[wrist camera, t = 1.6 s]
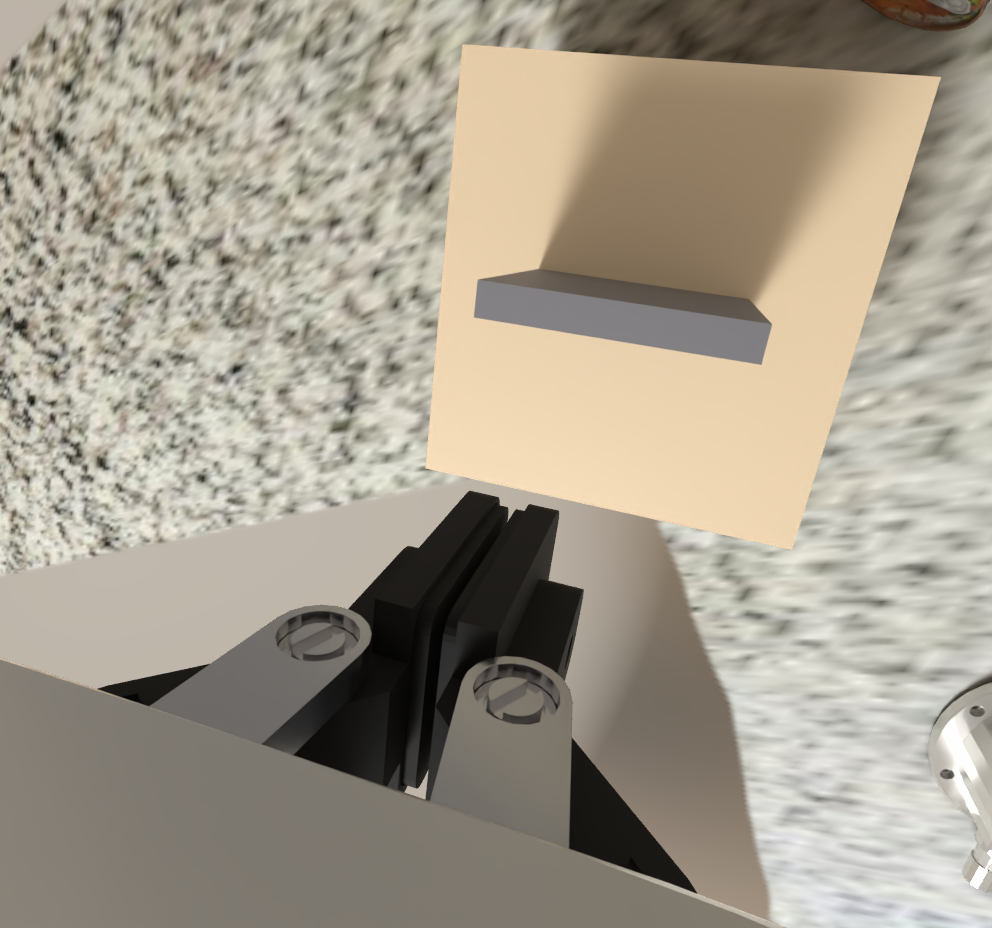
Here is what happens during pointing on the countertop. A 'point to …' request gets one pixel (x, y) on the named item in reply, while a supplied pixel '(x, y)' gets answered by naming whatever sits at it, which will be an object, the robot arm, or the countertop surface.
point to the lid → (662, 276)
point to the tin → (932, 12)
